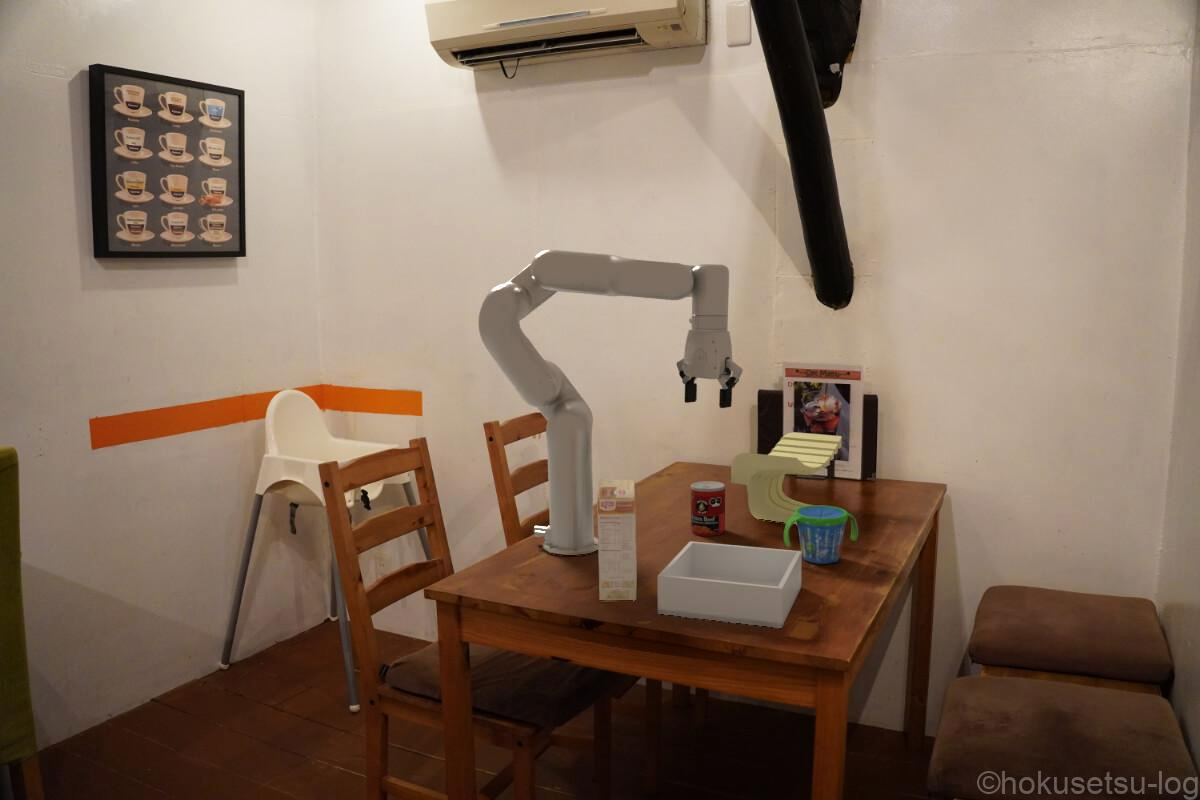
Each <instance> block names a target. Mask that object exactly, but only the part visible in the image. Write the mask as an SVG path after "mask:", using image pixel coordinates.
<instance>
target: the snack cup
mask: <svg viewBox="0 0 1200 800" xmlns="http://www.w3.org/2000/svg"><path fill="white" fill-rule="evenodd" d="M812 505H813V506H805V507H801V508H798V509H797V510H796V511H795V514H794V515H793V516H792V517H790V518H789V520H788V521H787V523H785V526H784V530H783V542H784V544H785V546H786V547H787V548H790V547H791V542H790V541H791V540H790V529H791V527H792V526H793V523H794V522H795V521H796V522H797V525H796V526H797V529H798V535H799V537H798V538H799V543H800V551H802V557H803V558H802V559H803V560H804V561H807V562H809V563H813V564H819V565H820V564H821V565H825V564H832V563H837V562H838V560H839V559H840V557H841V553H842V548H843V547H842V546H843V539H844V533H845V527H846V523H847V521H848V518H849V519H850V540H852V541H853V542H856V541H857V540H858V536H859V526H858V522H857V519H856V518H855V516H853V515H852V514H851V513H849V512H848V511H847V510H845V509H843V508H841V507H838V506H833V505H825V504H824V505H823V504H822V505H820V504H819V505H814V504H812Z"/></svg>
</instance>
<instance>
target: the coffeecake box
mask: <svg viewBox="0 0 1200 800" xmlns="http://www.w3.org/2000/svg"><path fill="white" fill-rule="evenodd" d="M635 494H636V493H635V479H612V478H610V479H609V478H608V479H607V478H605V479H599V483H598V489H597V496H596V506H597V507H596V508H597V510H596V511H597V539H598V551H597V552H598V588H599V589H598V590H599V595H598V596H599V600H633V601H632V602H636V601H637V587H638V586H637V585H638V584H637V579H638V578H637V577H638V576H637V575H638V574H637V572H638V570H637V569H638V568H637V565H638V564H637V528H636V527H637V525H636V524H637V523H636V521H637V520H636V519H637V516H636V495H635ZM635 600H636V601H635Z"/></svg>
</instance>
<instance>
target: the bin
mask: <svg viewBox="0 0 1200 800" xmlns="http://www.w3.org/2000/svg"><path fill="white" fill-rule="evenodd" d="M802 557H803V556H802V551H801V550H791V549H779V548H778V549H777V548H767V547H756V546H747V545H736V544H734V545H733V544H724V543H711V542H702V541H701V542H699V541H692V540H691V541H688V543H687V544H686V545H685V546H684V547H683V548H682V549H681V550H680V551H679V552H678V554H676V555H675V556H674V558H673V559H672V560H671V561H670V562H669V563H668V564H667V565H666V566H665V567H664V568H663V570H662V571H660V573H659V574H658V575H657V615H660V614H664V615H663V616H668V615H674V616H673V617H677V616H681V617H680V618H685V617H687V618H688V619H694V618H697V619H696V620H702V619H706V620H705V621H711V620H716V621H715V622H719V621H722V623H728V622H730V624H736V623H741V624H740V625H745V624H748V625H747V626H753V625H758V626H757V627H762V626H767V627H766V628H770V627H773V628H772V629H779V628H782V629H783V626H784V624H785V623H786V620H787V618H788V616H789V613H790V611H791V609H792V608H793V605H794V604H795V601H796V599H797V597H798V596H799V593H800V591H801V589H802V561H803V560H802V559H803V558H802ZM698 618H699V619H698ZM707 619H708V620H707ZM784 622H785V623H784Z"/></svg>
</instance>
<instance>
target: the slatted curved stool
mask: <svg viewBox="0 0 1200 800" xmlns="http://www.w3.org/2000/svg"><path fill="white" fill-rule="evenodd" d="M842 437H843V436H842V435H831V434H819V433H808V432H807V433H806V432H805V433H804V432H795V431H792V432H788V433H786V434H785V435H783V436H781V437H780V439H779V441H778V442H777V443H776V444H775V446H774V447H773V448H771V451H770V452H769V453H768V454H762V453H752V452H741V453H738V454H736V455H735V456H734V458H733V459H732V461H731V465H730V483H731V484H736V485H737V484H738V485H743V486H744V485H745V486H746V490H747V501H748V502H747V504H748V509H749V511H750V513H751V515H752V516H753V518H755V519H757V520H759V519H764V520H763V521H765V520H771V521H770V522H772V521H776V522H775V523H779V522H784V523H783V524H786V523H787V521H788V520H789V518H790V517H792V516H793V515H794V514H795V511H796V510H797V509H798V508H801V507H805V506H813V505H814V504H808V503H805V502H800V501H797V500H794V499H792V498H790V497H788V496H787V495H786V494H785V493H784V491H783V483H784V478H785V476H786V475H799V476H800V475H802V476H803V475H804V476H812V475H813V474H815V473H817V472H819V471H821V470H823V469H824V468H827V467H828V466H830V465H831V463H830V461H832V460H835V458H834V457H835V455H836V454H838V453H839V452H838V451H839V449H842V446H843V445H842V439H843V438H842ZM777 521H778V522H777ZM793 524H796V525H795V526H798V525H797V522H796V521H795V522H794V523H793Z"/></svg>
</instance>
